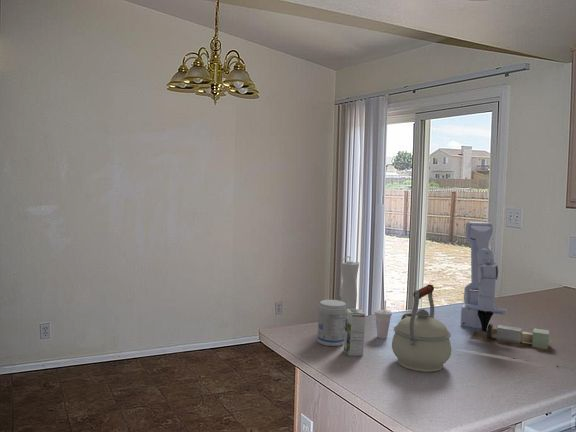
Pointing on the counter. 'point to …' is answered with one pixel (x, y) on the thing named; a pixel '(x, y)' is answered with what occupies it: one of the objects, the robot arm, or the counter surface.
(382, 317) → the smoothie
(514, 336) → the metal sleeve
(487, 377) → the counter surface
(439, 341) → the kettle
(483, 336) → the walnut board
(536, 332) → the socket block
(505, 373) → the counter surface
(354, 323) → the syrup box
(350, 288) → the white bottle
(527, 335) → the slip rod
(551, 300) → the counter surface
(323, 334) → the supplement tub
